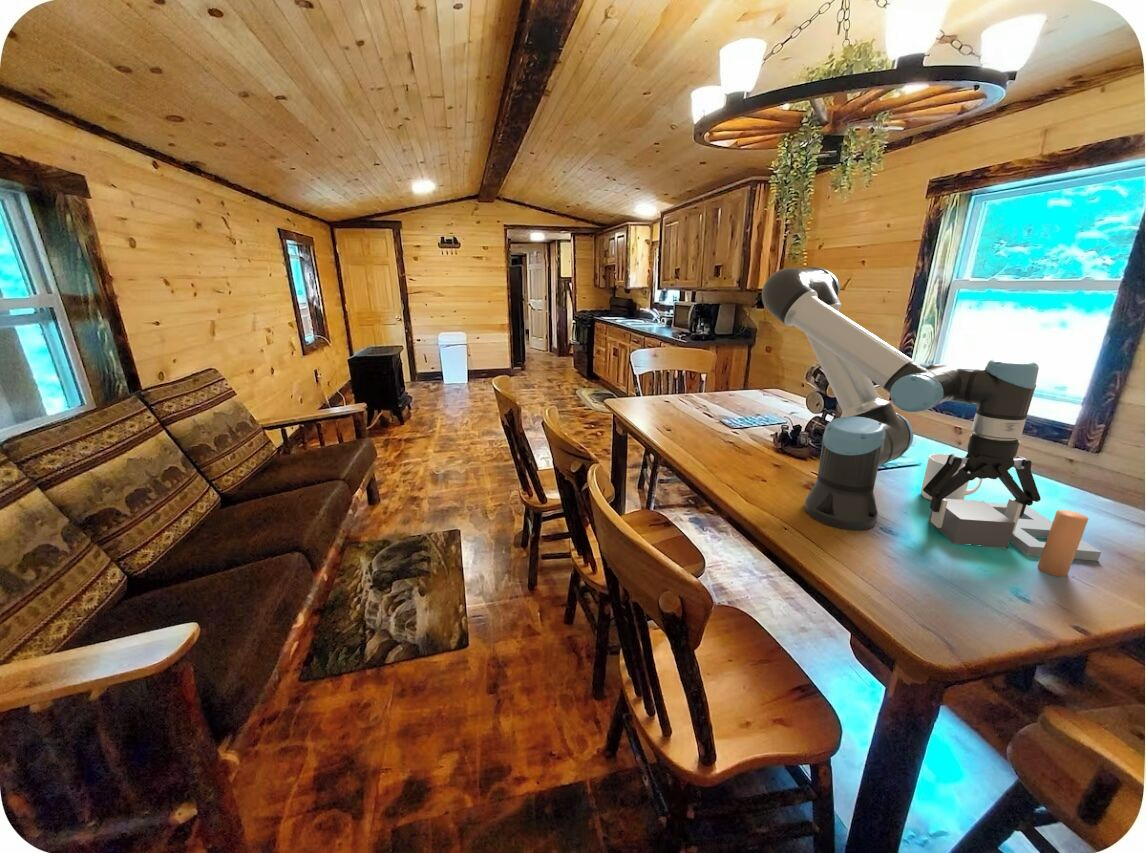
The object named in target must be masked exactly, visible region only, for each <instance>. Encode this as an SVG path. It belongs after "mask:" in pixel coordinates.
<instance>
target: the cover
mask: <svg viewBox="0 0 1146 853" xmlns="http://www.w3.org/2000/svg"><path fill="white" fill-rule="evenodd" d="M946 500H947V501H948V502H947V506H946V510H945V515H944V519H943V523H942V527H941V528H938V527H936V526H935V525H934V524H933V523H932V522H930V521H931V517H932V512H933V511H932V510H931V509H930V512H929V517H928V522H929V523H930V524H931V525H932V526H934V528H935V529H937V530H938V531H939V532H940V533H941V534H942V535H943V536H944V537H945V538H947V539H948V540H949V541H950V542H951V543H952V544H953V545H961V544H971V545H970V546H974V545H981V546H980V547H986V546H988V547H989V548H999V549H1000V548H1002V549H1008V547H1009V543H1010V542H1009V541H1010V538H1011V535H1012V532H1013V529H1014V525H1015V522H1013V521H1012V520H1010V519H1009V518H1007V517H1006V516H1005V515H1003V514H1002V513H1000V512H999V511H997V510H996V509H994V508H993V507H992V506H990V505H989V504H987V503H986V502H987V501H984V500H975V499H974V500H973V499H964V500H959V499H946ZM988 547H987V548H988Z"/></svg>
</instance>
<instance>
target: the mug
mask: <svg viewBox="0 0 1146 853" xmlns="http://www.w3.org/2000/svg"><path fill="white" fill-rule="evenodd" d="M949 455H950V454H946V453H945V454H944V453H933V454H929V456H928V460H927V463H926V466H925V467H926V468H925V472H924V476H923V480H922V485H921V487H920V488H921V489H920V493H921V496H922V497H923V498H925V499H926V500H928V501H930V502H931V500H932V497H931V496H929V495H928V494H927V493H925V492H924V491H923V488H924V487H925V486H926V485H927V484H928V483H929V482H930V481H931V479H932V478H933V477H934V476H935V475H936V474H937V473H938V472H939V470H940V469H941V468H942V467H943V466H944V465H945V464H946V462H947V459H948V457H949ZM962 465H963V466H962V467H964V466H965V464H962ZM962 467H959V469H958V470H957V472H956V473H955V474H957V473H958V471H959V470H960V469H961V468H962ZM967 473H969V474H970V472H969V471H968V472H967ZM955 474H954V475H955ZM954 475H953V476H954ZM953 476H952V477H953ZM978 479H979V478H978ZM978 481H979V482H978V484H977V486H975V487H974V488H973V487H972V488H971V489H969V488H968V484H969V481H968V482H967V483H965V484H964V485H962V486H961V487H960V488H958V489H957V490H955V491H954V492H952V493H951V494H950V495H948V496H947V497H945V499H959V500H965V497H966V496H969V495H973V494H974V493H976V492H977V491H978V490H979V488H980V487H981V485H982V482H983V479H979V480H978Z"/></svg>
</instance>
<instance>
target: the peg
mask: <svg viewBox="0 0 1146 853" xmlns="http://www.w3.org/2000/svg"><path fill="white" fill-rule="evenodd" d="M1088 521H1089V517H1088V516H1086V515H1084V514H1082V513H1080V512H1077V511H1072V510H1066V509H1057V510H1056V512H1055V514H1054V518H1053V520H1052V522H1053V523H1052V526H1051V529H1050V532H1049V535H1048V538H1046V540H1045V542H1046V543H1045V546H1044V549H1043V552H1042V555H1041V556H1040V558H1039V561H1038V564H1037V568H1038V569H1039V570H1040V571H1042V572H1044V573H1046V574H1048V575H1052V576H1055V577H1063V578H1065V577H1067V576H1068V575H1069V572H1070V569H1071V566H1072V564H1073V562H1074V560H1075V559H1074V556H1075V554H1076V551H1077V548H1078V546H1079V543H1080V540H1082V538H1083V534H1084V532H1085V530H1086V527H1087V524H1088Z"/></svg>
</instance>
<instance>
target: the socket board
mask: <svg viewBox="0 0 1146 853" xmlns="http://www.w3.org/2000/svg"><path fill="white" fill-rule="evenodd" d="M985 502H986V503H987V504H989V505H990V506H992V507H993V508H994V509H996V510H997V511H999V512H1000V513H1002V514H1003V515H1004V514H1005V511H1006V507H1007V504H1008V503H1004V502H1003V503H1002V502H990V501H989V502H988V501H985ZM1052 523H1053V520H1050V519H1049V518H1047V517H1045V516H1044V515H1042V514H1041V513H1039V512H1037V511H1036V510H1035V509H1033V508H1031V507H1030V506H1028V505H1026V508H1025V510H1024V514H1023V516H1022V517H1019V519H1018V522H1017V525H1016V528H1015V532H1012V535H1011V538H1010V541H1009V543H1010V544H1012V545H1013V546H1015V547H1016V548H1017V549H1018V550H1020V551H1021V552H1022V553H1024V554H1025V555H1027V556H1034V557H1035V556H1038V557H1041V555H1042V552H1043V549H1044V546H1045V543H1046V541H1040V540H1038V539H1039V538H1040V539H1041V538H1042V539H1047V538H1048V535H1049V532H1050V529H1051V526H1052ZM1037 538H1038V539H1037ZM1101 554H1102V551H1101V550H1099V549H1097V548H1096V547H1094V546H1092V545H1091V544H1090V543H1088V542H1086V541H1084V540H1083V539H1081V540H1080V543H1079V546H1078V548H1077V551H1076V554H1075V556H1074V559H1073V560H1075V559H1076V560H1085V561H1096V562H1097V561H1099V559H1100V558H1101Z"/></svg>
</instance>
